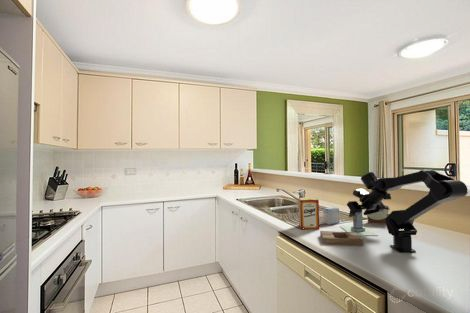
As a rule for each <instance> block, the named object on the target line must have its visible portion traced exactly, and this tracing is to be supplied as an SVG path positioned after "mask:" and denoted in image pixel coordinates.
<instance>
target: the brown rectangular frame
mask: <svg viewBox="0 0 470 313" xmlns="http://www.w3.org/2000/svg"><path fill="white" fill-rule="evenodd" d="M319 232H320V235H319V236H320V238H321V240H322V243H323V244H324V245H338V246H339V245H340V246H355V247H357V246H358V247H363V246H364V241H363V239H362V238H361V236H359V235H358V234H357V233H355V232H346V231H334V230H333V231H329V230H319Z"/></svg>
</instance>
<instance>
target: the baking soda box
mask: <svg viewBox="0 0 470 313" xmlns="http://www.w3.org/2000/svg"><path fill="white" fill-rule="evenodd" d="M297 202H298V206H297V207H298V209H297V210H298V227H299V226H300V227H299V229H301V230H320V204H319V199H318V198H316V197H298V198H297ZM303 228H304V229H303Z"/></svg>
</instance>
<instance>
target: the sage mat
mask: <svg viewBox="0 0 470 313" xmlns="http://www.w3.org/2000/svg"><path fill="white" fill-rule="evenodd" d="M351 227H353V225H352V226H350V225H349V226H345V225H344V226H340V228H341V229H342V230H343V231H344V232H355V231H352V230H351ZM363 228H365V231H363V232H355V233H357V234H358V235H359V236H360V237H379V235H378V234H376V233H375V232H374V231H372V230H370V229H368V228H367V227H365V226H364V225H363Z"/></svg>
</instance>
